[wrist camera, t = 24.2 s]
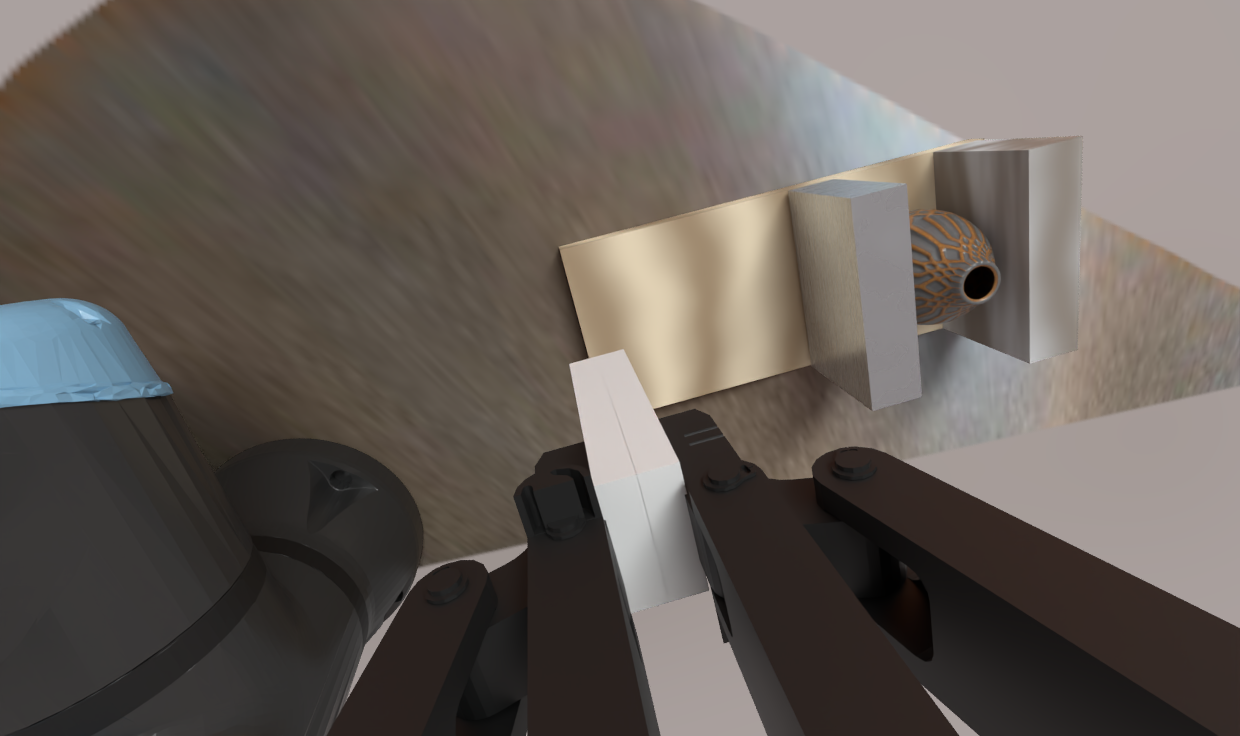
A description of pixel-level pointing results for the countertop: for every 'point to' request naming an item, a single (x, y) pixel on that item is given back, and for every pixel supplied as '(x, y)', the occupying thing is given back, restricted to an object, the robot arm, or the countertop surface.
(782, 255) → the vise
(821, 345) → the block
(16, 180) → the countertop surface
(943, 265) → the vase
